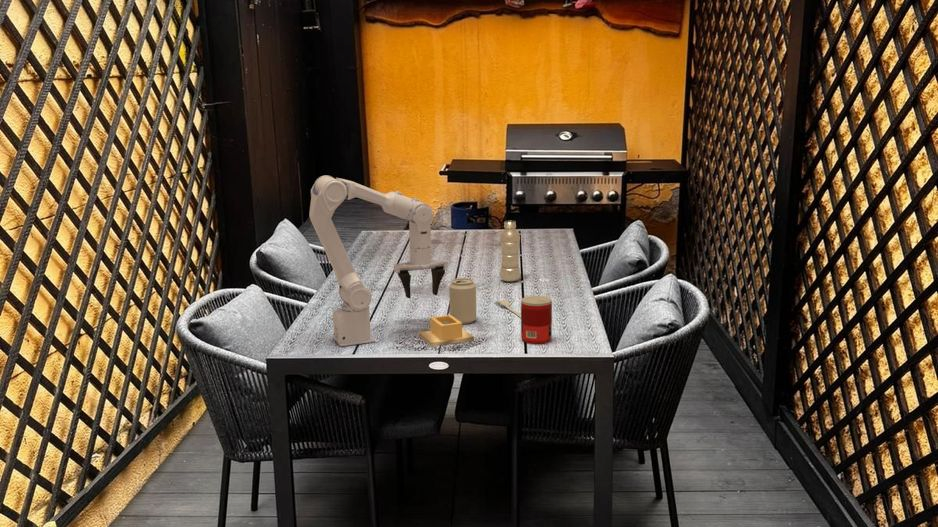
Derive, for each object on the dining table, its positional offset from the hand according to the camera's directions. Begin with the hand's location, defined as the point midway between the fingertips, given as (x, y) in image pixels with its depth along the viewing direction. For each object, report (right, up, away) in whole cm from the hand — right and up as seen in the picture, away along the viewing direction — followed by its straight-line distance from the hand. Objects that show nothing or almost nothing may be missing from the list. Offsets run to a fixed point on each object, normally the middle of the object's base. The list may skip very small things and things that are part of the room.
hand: (421, 295), depth 238 cm
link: (+7, -10, -5) cm, 13 cm away
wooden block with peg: (+7, -11, -5) cm, 14 cm away
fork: (+25, -6, +20) cm, 33 cm away
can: (+11, -8, +10) cm, 17 cm away
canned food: (+30, -12, -7) cm, 33 cm away
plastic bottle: (+26, +3, +53) cm, 60 cm away
